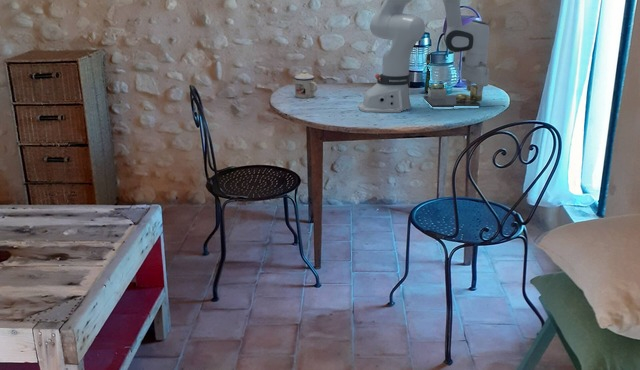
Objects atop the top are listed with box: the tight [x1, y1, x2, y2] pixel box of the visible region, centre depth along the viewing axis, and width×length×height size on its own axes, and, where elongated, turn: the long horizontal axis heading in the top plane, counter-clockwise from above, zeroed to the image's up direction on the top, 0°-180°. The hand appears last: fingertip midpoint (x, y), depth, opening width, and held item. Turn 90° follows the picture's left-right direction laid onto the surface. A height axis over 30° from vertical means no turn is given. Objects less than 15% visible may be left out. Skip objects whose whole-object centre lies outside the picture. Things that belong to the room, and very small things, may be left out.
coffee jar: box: [424, 52, 432, 92], centre depth 302 cm, size 10×8×19 cm
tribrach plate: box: [423, 84, 481, 107], centre depth 281 cm, size 20×18×8 cm
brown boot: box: [455, 84, 484, 102], centre depth 278 cm, size 11×5×6 cm, turn 79°
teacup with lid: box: [294, 70, 318, 99], centre depth 297 cm, size 12×9×12 cm
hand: (473, 92), depth 279 cm, fingers open, 8 cm apart
